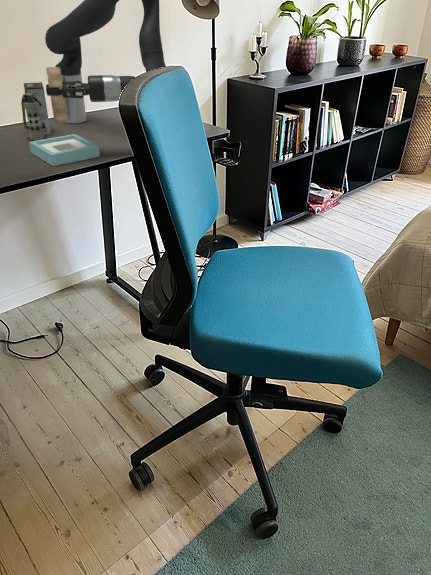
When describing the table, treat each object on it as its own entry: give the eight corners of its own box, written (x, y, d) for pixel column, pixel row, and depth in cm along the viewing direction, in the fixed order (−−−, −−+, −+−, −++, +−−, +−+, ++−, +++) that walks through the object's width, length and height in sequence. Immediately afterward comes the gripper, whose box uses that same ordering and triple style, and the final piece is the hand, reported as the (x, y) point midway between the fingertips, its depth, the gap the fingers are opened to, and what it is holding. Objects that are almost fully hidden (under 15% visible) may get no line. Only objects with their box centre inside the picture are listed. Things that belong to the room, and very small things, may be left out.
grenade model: (49, 136, 167) (42, 92, 159) (38, 142, 161) (30, 96, 153) (33, 134, 168) (26, 90, 160) (22, 139, 163) (13, 94, 154)
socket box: (30, 152, 152) (28, 141, 150) (76, 144, 161) (74, 133, 159) (53, 166, 142) (51, 155, 140) (99, 156, 151) (98, 145, 149)
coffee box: (31, 128, 174) (22, 82, 165) (49, 127, 176) (41, 82, 167) (32, 135, 167) (24, 87, 158) (51, 134, 169) (44, 87, 160)
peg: (52, 120, 145) (43, 67, 137) (63, 118, 148) (56, 66, 139) (57, 123, 143) (49, 69, 135) (69, 121, 145) (62, 68, 137)
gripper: (101, 71, 148) (44, 72, 143) (105, 79, 136) (44, 81, 132) (103, 96, 152) (48, 98, 147) (108, 106, 140) (48, 108, 136)
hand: (46, 90), depth 140 cm, fingers closed on peg, 4 cm apart
